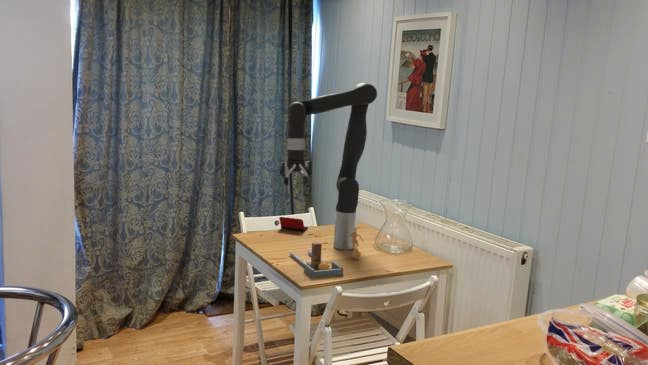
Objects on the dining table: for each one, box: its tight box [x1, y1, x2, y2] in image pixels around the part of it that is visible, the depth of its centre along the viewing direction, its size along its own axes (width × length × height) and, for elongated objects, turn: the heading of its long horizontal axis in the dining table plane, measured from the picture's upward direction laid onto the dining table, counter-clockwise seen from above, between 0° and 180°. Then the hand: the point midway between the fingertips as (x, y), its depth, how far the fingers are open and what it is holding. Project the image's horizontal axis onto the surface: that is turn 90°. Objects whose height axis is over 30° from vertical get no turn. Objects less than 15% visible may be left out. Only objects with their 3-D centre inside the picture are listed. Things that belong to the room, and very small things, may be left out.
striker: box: [306, 242, 329, 271], centre depth 230 cm, size 6×8×10 cm
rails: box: [289, 250, 330, 268], centre depth 238 cm, size 10×20×2 cm, turn 24°
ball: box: [318, 262, 330, 271], centre depth 225 cm, size 4×4×4 cm
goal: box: [303, 260, 344, 279], centre depth 225 cm, size 13×8×3 cm, turn 114°
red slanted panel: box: [278, 216, 309, 233], centre depth 288 cm, size 12×11×7 cm
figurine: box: [347, 231, 364, 261], centre depth 245 cm, size 8×6×12 cm
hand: (295, 185), depth 251 cm, fingers open, 8 cm apart
